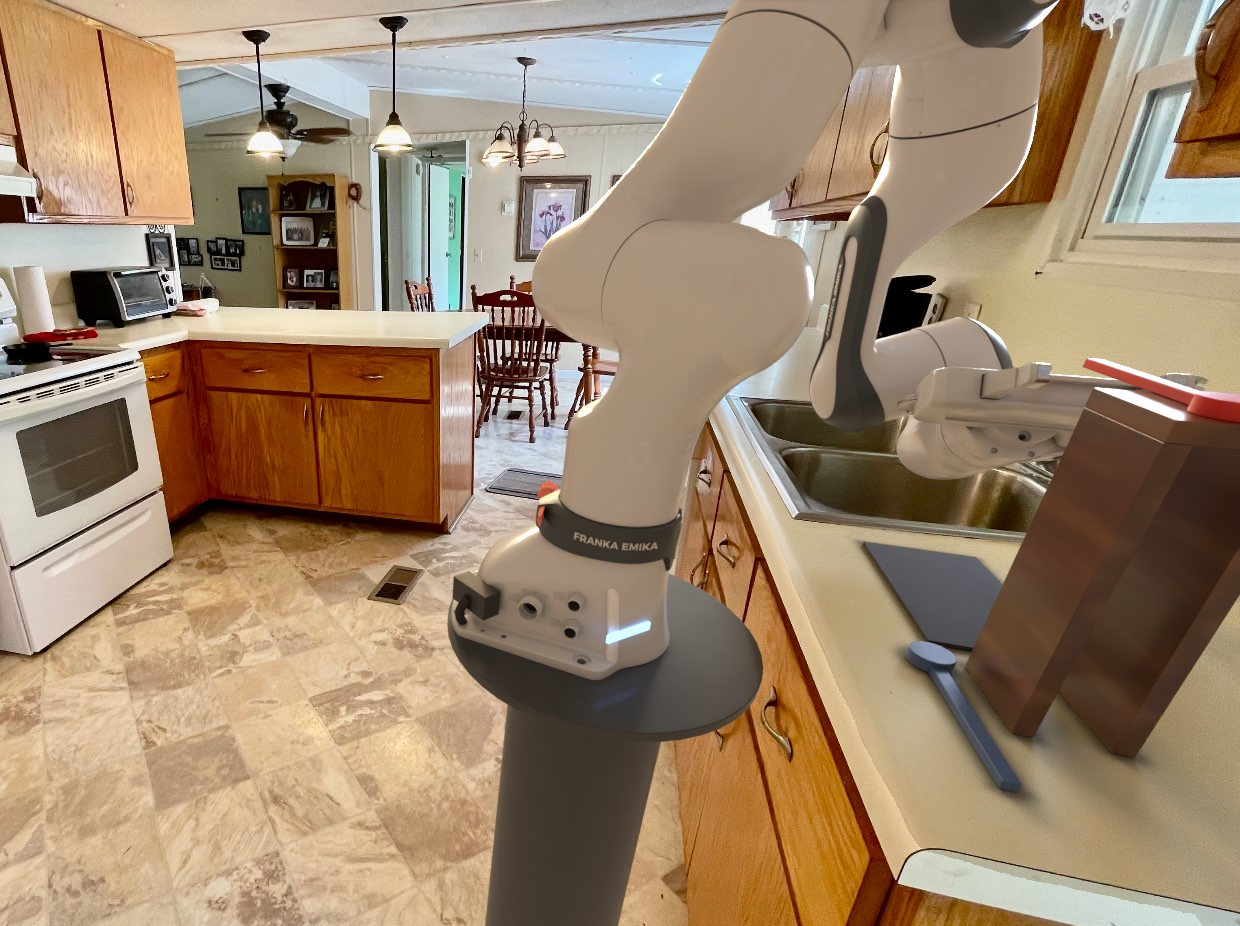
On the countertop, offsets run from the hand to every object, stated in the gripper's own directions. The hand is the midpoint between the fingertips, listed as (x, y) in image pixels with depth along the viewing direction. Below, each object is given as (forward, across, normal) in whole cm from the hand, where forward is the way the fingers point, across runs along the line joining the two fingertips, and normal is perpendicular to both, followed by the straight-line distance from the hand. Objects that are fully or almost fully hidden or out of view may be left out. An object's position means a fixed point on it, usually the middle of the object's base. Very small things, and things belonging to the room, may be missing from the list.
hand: (1110, 377), depth 53 cm
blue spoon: (-2, -7, +29) cm, 30 cm away
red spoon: (+5, 0, +3) cm, 5 cm away
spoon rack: (-4, 0, +28) cm, 28 cm away
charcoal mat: (-20, 0, +18) cm, 27 cm away
